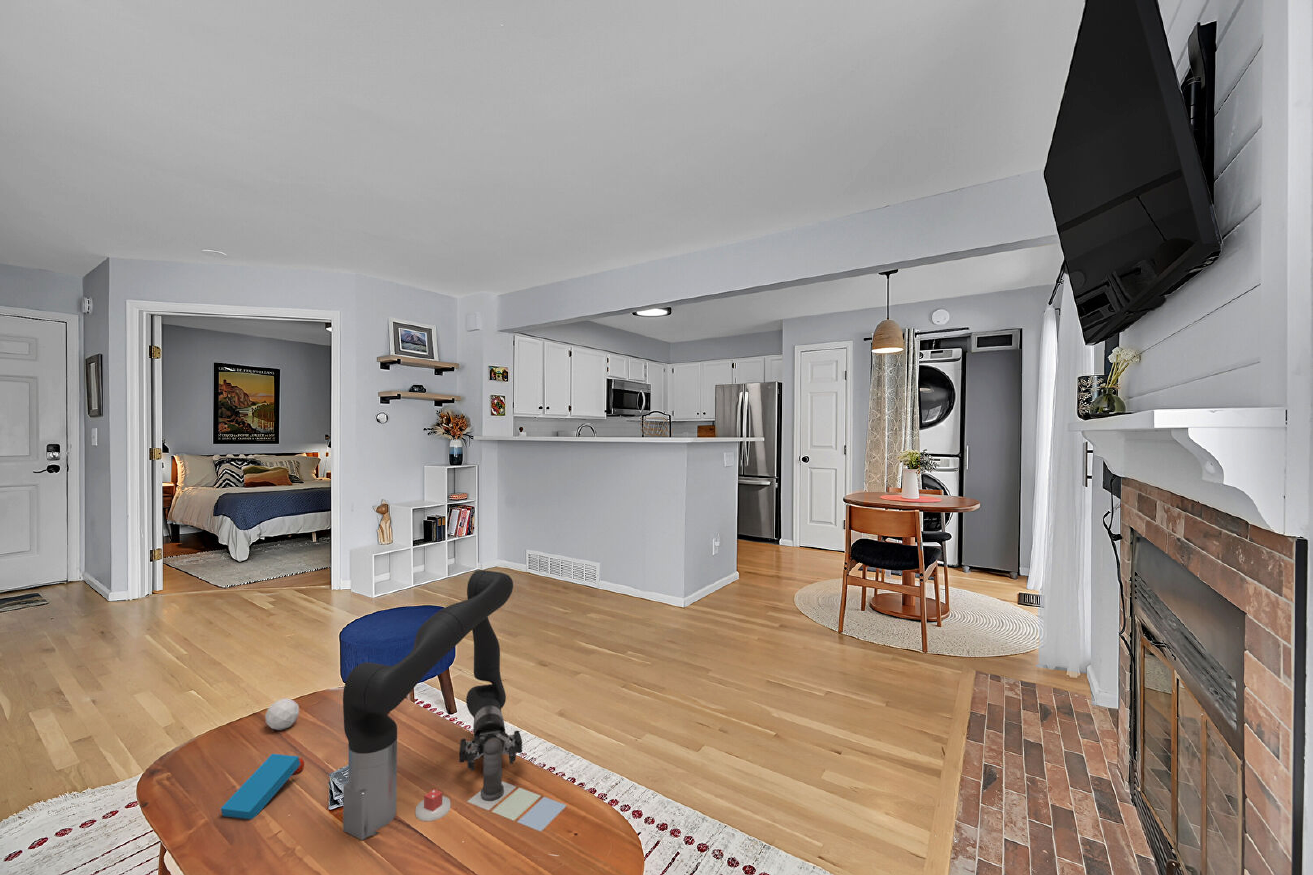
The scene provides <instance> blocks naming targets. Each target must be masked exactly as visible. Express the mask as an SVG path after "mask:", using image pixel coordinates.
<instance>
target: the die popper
mask: <svg viewBox="0 0 1313 875" xmlns="http://www.w3.org/2000/svg"><path fill="white" fill-rule="evenodd" d="M423 798H424V799H422V800H421V801H420V802H419V803H418V804H417V805H416V807H415V817H416V818H417V819H418V820H419V821H423V822H433V821H436V820H439V819H442V818H443V817H444V816H446V815H447V814H448V813H449V812H450V810H451V800H450V799H449V797H447V796H444V795H443V791H439V790H437V789H432V790H430V791H429V792H428V793H426V794H424V796H423Z"/></svg>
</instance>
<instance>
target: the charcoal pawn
mask: <svg viewBox="0 0 1313 875" xmlns="http://www.w3.org/2000/svg"><path fill="white" fill-rule="evenodd" d="M502 765H503V754H502V743H501V741H500V740H499V739H497V738H491V739H489V740H488V741H487V742H486V743H485V745H484V754H483V773H482V775H483V778H482V780H483V781H482V786H483V787H482V788H481V789H480V791H481V798H482V799H483V800H485V801H494V800H497V799H499V798H501V797H502V796H503V794H504V786H503V785H502V780H503V766H502Z"/></svg>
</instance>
